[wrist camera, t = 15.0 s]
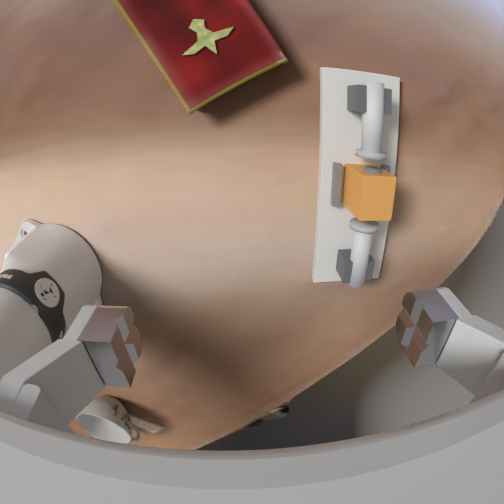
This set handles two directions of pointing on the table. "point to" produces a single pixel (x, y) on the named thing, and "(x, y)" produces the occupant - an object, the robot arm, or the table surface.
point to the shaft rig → (352, 152)
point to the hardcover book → (203, 44)
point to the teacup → (107, 420)
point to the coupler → (368, 192)
